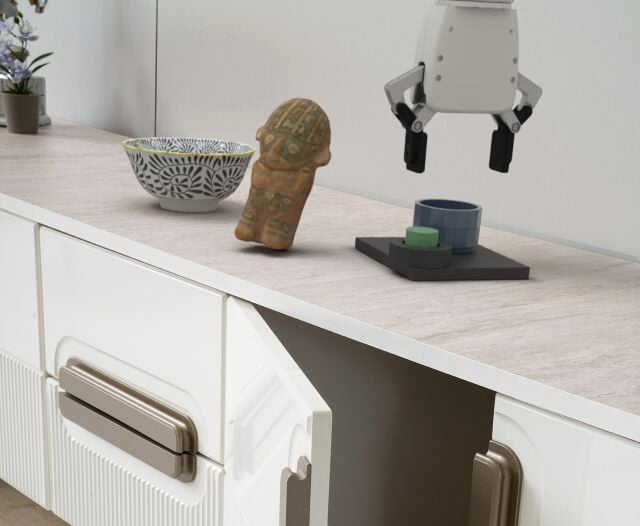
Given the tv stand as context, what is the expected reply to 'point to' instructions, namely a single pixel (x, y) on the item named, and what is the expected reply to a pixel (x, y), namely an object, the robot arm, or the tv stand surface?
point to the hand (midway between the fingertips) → (457, 171)
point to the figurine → (284, 172)
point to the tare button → (421, 237)
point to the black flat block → (440, 261)
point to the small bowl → (450, 221)
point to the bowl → (188, 170)
